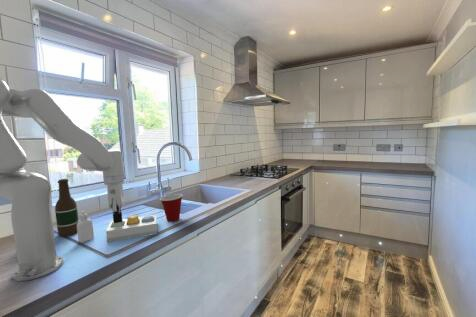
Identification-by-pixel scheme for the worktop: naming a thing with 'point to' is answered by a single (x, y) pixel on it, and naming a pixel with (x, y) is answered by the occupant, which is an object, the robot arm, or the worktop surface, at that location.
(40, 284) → the worktop surface
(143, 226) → the white slotted frame
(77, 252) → the worktop surface
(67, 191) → the beer bottle
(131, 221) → the button amber
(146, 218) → the button slate
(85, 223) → the eye dropper bottle
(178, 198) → the plastic cup
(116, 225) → the button sage
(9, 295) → the worktop surface
